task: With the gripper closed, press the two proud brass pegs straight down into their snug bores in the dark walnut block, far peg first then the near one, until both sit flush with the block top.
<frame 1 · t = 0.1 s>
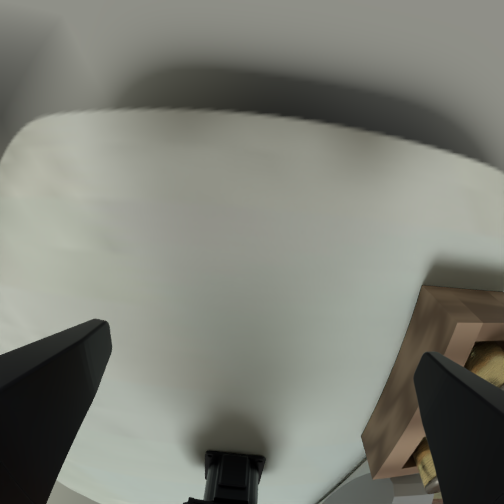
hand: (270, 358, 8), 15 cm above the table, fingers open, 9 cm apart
alarm clock: (349, 489, 33), on the table
walnut block: (433, 373, 26), on the table
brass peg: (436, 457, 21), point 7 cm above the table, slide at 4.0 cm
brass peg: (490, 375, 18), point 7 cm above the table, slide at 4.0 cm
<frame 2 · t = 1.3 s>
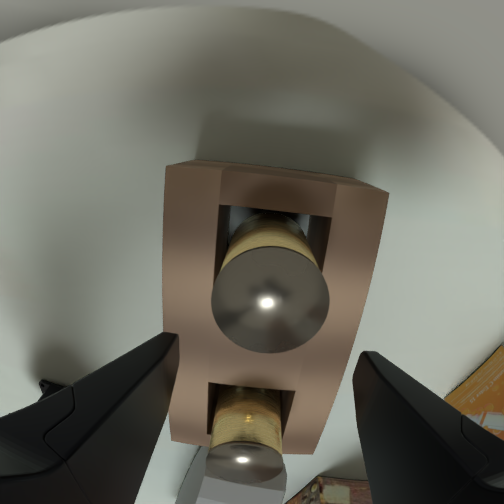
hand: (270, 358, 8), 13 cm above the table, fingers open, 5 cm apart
alarm clock: (217, 469, 29), on the table
walnut block: (259, 301, 22), on the table
small box: (480, 382, 25), on the table
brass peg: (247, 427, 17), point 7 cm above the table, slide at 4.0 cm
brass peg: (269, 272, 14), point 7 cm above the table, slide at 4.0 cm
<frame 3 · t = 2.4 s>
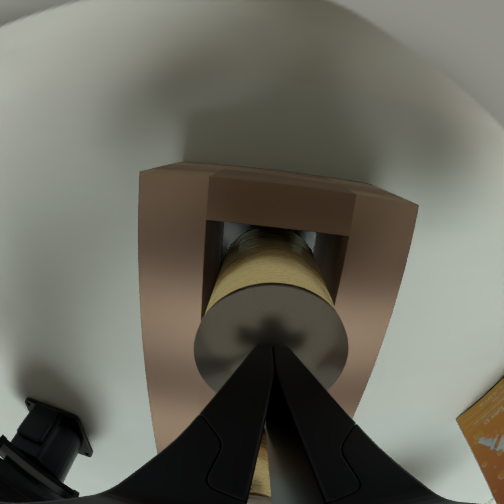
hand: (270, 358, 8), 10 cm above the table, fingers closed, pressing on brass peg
walnut block: (258, 324, 19), on the table
small box: (494, 400, 22), on the table
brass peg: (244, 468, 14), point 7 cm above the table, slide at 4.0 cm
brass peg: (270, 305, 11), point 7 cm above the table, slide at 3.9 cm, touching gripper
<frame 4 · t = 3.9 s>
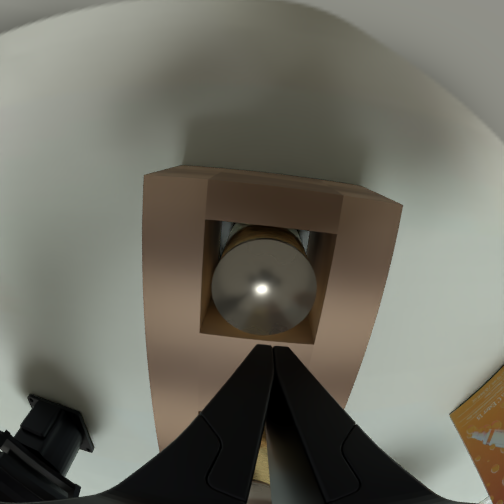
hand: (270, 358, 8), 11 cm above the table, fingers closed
walnut block: (254, 319, 20), on the table
small box: (487, 397, 23), on the table
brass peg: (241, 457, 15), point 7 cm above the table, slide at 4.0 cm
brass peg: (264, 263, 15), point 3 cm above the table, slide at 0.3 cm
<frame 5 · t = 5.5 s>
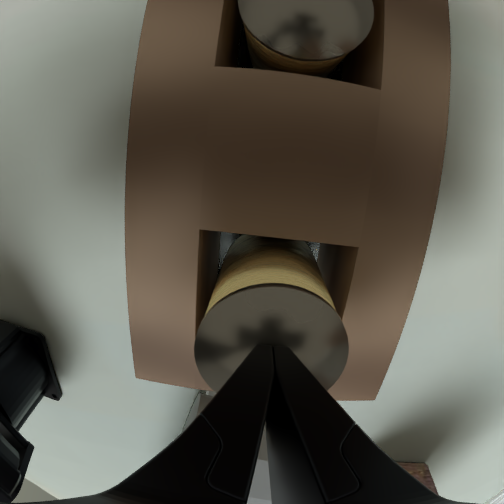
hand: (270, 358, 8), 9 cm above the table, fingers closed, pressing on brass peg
alarm clock: (215, 450, 22), on the table
walnut block: (281, 152, 15), on the table
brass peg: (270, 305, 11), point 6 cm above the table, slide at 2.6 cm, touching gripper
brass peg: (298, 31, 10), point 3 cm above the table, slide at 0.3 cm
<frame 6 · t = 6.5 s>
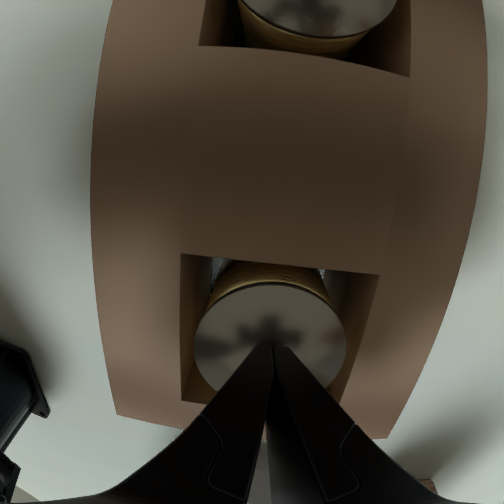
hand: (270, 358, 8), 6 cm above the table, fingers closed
alarm clock: (211, 471, 20), on the table
walnut block: (282, 153, 13), on the table
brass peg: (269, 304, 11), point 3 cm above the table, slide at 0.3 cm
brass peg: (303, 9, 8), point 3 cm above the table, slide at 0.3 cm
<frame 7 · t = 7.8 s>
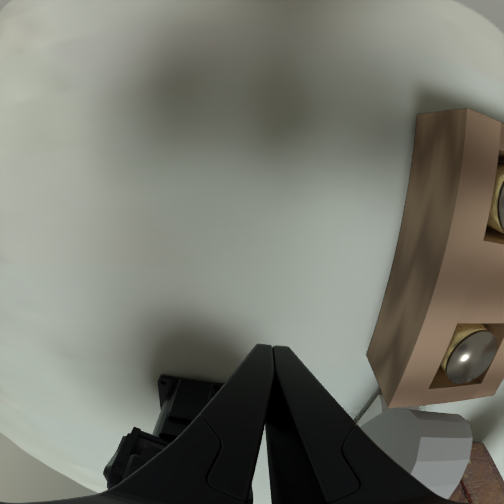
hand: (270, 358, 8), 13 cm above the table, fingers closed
alarm clock: (354, 449, 28), on the table
walnut block: (453, 253, 20), on the table
book: (403, 493, 32), on the table
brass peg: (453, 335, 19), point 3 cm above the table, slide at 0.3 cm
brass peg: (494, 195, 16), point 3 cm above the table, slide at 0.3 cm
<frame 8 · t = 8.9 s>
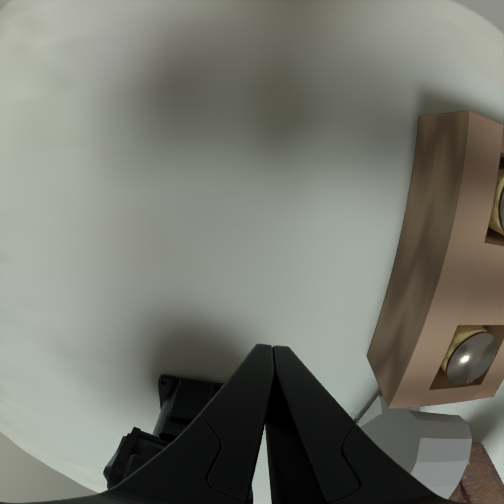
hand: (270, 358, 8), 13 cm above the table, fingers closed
alarm clock: (353, 450, 28), on the table
walnut block: (454, 255, 20), on the table
book: (401, 494, 32), on the table
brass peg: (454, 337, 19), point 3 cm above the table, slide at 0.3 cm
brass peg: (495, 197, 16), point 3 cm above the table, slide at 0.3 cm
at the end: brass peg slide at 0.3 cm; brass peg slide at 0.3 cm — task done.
